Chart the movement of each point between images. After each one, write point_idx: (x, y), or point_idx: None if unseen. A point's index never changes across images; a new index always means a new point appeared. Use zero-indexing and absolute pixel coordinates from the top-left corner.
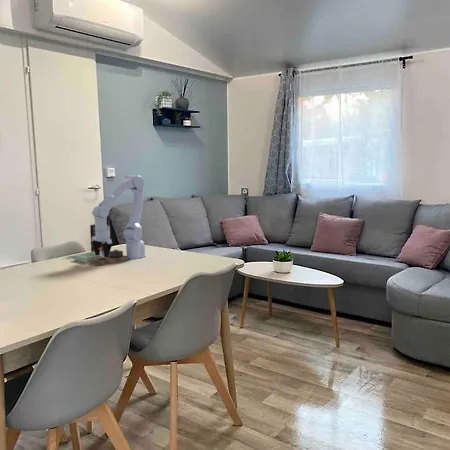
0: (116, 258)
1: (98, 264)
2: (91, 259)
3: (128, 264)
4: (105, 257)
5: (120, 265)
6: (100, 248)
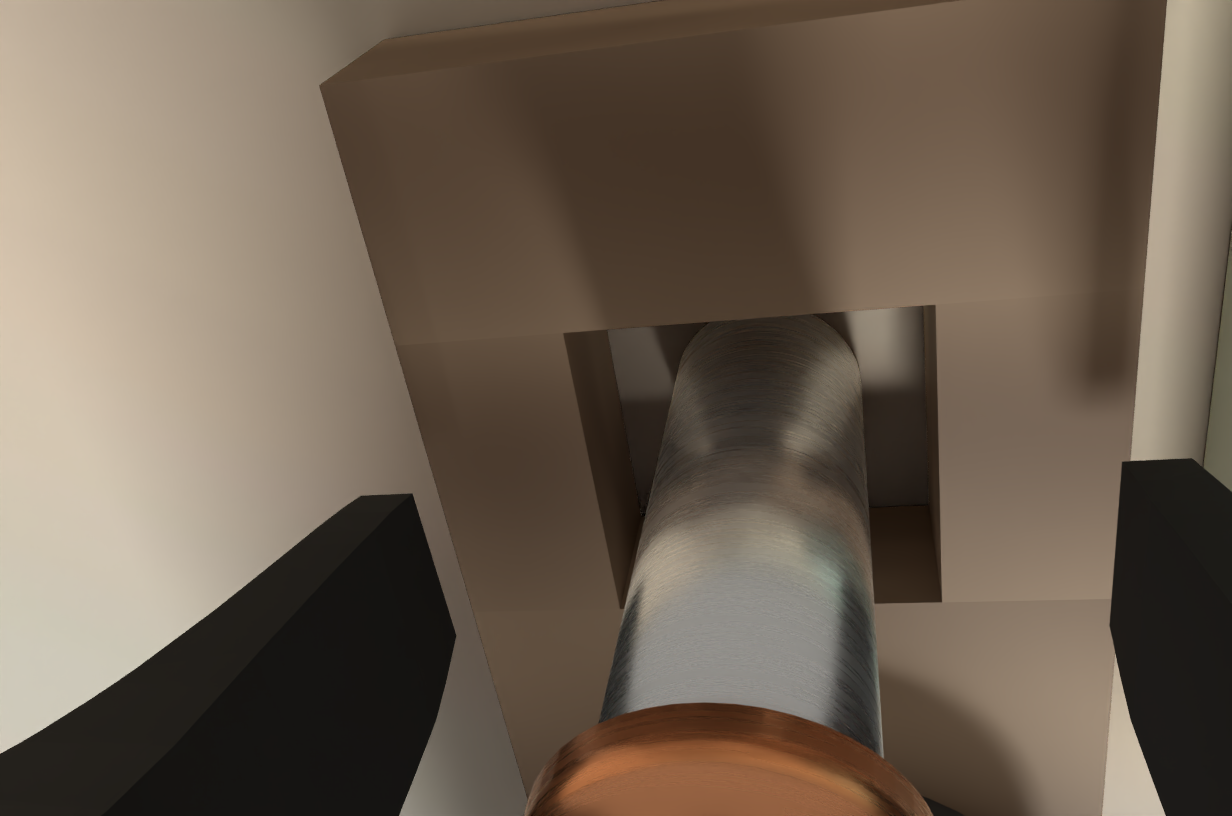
0: None
1: (378, 53)
2: (1137, 106)
3: None
4: (978, 698)
5: (91, 567)
6: (586, 803)
